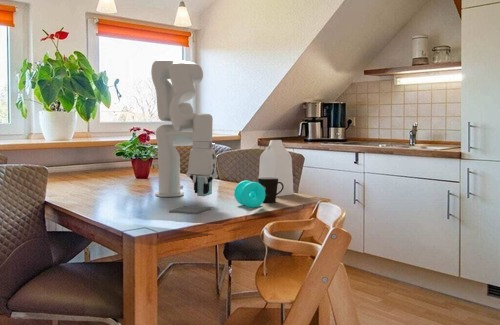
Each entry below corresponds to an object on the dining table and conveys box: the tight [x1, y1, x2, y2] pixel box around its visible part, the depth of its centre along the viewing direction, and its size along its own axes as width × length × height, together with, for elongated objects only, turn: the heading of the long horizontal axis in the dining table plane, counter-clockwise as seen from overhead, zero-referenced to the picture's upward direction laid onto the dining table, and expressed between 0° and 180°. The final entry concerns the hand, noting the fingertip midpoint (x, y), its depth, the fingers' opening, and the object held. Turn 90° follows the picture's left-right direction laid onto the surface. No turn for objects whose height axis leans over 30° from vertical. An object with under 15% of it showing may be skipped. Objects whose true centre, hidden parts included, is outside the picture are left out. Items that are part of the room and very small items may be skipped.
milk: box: [258, 139, 294, 197], centre depth 220 cm, size 12×12×26 cm
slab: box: [196, 175, 213, 197], centre depth 186 cm, size 7×3×8 cm, turn 160°
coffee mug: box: [257, 177, 284, 204], centre depth 198 cm, size 12×9×10 cm
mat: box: [168, 205, 211, 215], centre depth 175 cm, size 12×11×1 cm
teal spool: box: [233, 179, 265, 209], centre depth 186 cm, size 10×10×10 cm
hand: (201, 192), depth 184 cm, fingers closed on slab, 3 cm apart
